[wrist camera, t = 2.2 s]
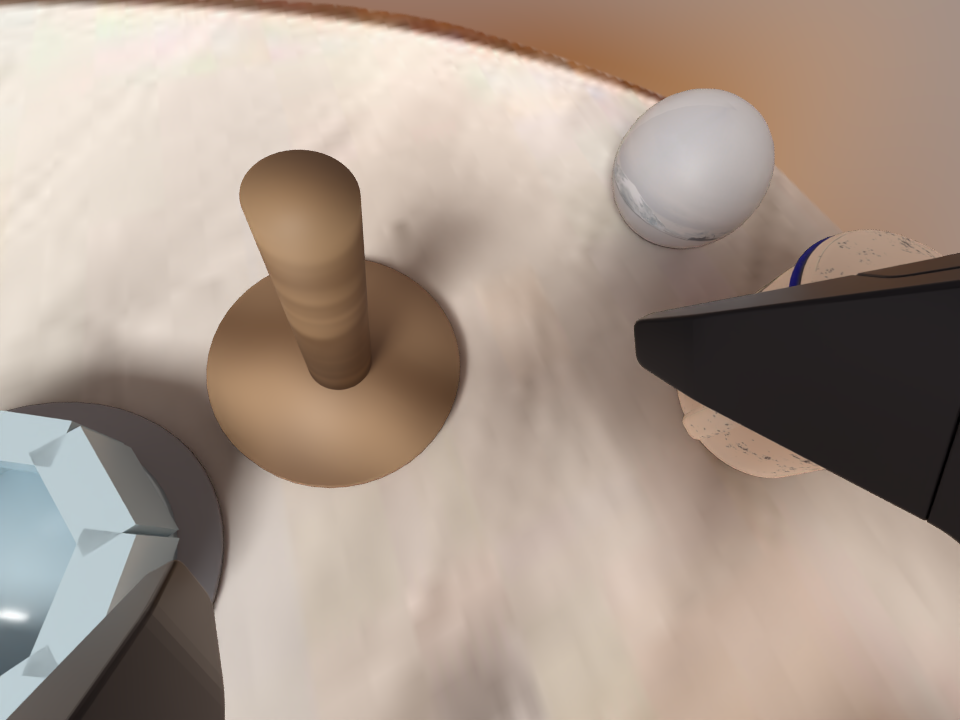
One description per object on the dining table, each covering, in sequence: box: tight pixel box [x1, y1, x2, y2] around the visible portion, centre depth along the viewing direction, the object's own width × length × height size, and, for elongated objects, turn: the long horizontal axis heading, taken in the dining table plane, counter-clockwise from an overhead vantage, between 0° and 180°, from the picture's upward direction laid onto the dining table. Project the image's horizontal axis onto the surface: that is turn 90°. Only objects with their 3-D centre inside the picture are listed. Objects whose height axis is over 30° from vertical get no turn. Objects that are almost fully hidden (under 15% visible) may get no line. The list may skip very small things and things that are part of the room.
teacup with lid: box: [677, 230, 942, 478], centre depth 20 cm, size 12×9×12 cm
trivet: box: [7, 402, 224, 605], centre depth 17 cm, size 13×13×1 cm
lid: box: [207, 150, 460, 488], centre depth 17 cm, size 11×11×12 cm
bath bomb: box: [612, 89, 774, 249], centre depth 26 cm, size 8×8×8 cm
